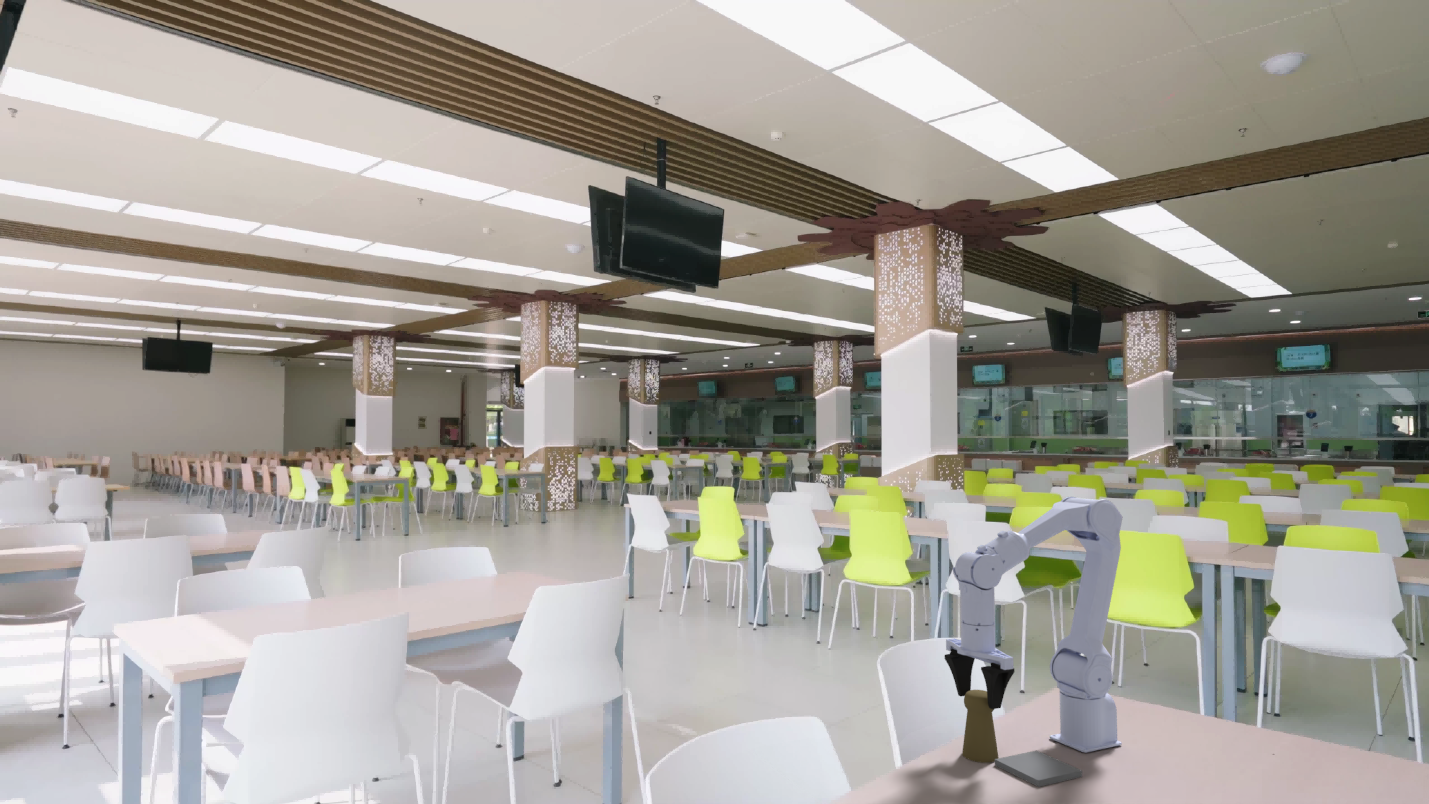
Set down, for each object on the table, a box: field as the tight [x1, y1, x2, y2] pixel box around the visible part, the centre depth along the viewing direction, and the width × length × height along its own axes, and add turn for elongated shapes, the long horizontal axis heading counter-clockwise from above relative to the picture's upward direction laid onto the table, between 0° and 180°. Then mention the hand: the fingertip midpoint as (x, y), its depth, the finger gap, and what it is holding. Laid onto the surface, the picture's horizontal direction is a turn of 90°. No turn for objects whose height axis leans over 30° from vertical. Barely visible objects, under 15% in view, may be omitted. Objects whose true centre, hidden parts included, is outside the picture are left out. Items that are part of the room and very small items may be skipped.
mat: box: [994, 750, 1083, 788], centre depth 134 cm, size 10×10×1 cm
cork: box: [961, 689, 1000, 764], centre depth 141 cm, size 6×6×11 cm
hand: (979, 701), depth 141 cm, fingers open, 7 cm apart
